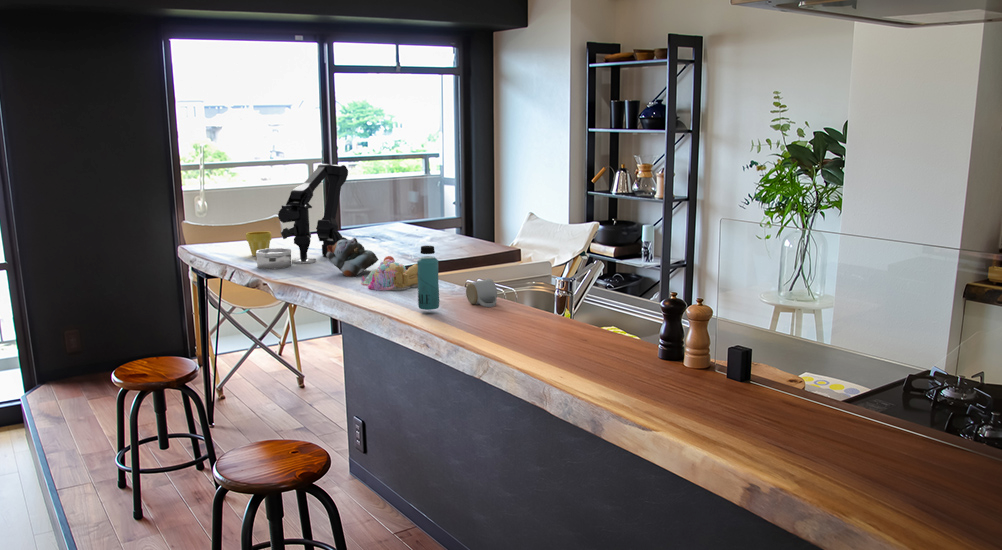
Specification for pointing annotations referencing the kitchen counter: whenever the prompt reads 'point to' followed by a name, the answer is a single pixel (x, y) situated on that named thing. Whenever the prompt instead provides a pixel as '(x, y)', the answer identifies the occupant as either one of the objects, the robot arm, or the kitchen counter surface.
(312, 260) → the lid
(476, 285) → the ceramic mug
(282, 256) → the pot
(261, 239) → the plant pot
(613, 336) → the kitchen counter surface
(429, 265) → the beverage bottle
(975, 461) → the kitchen counter surface
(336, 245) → the grey teddy bear
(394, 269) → the pastel plush toy
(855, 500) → the kitchen counter surface
